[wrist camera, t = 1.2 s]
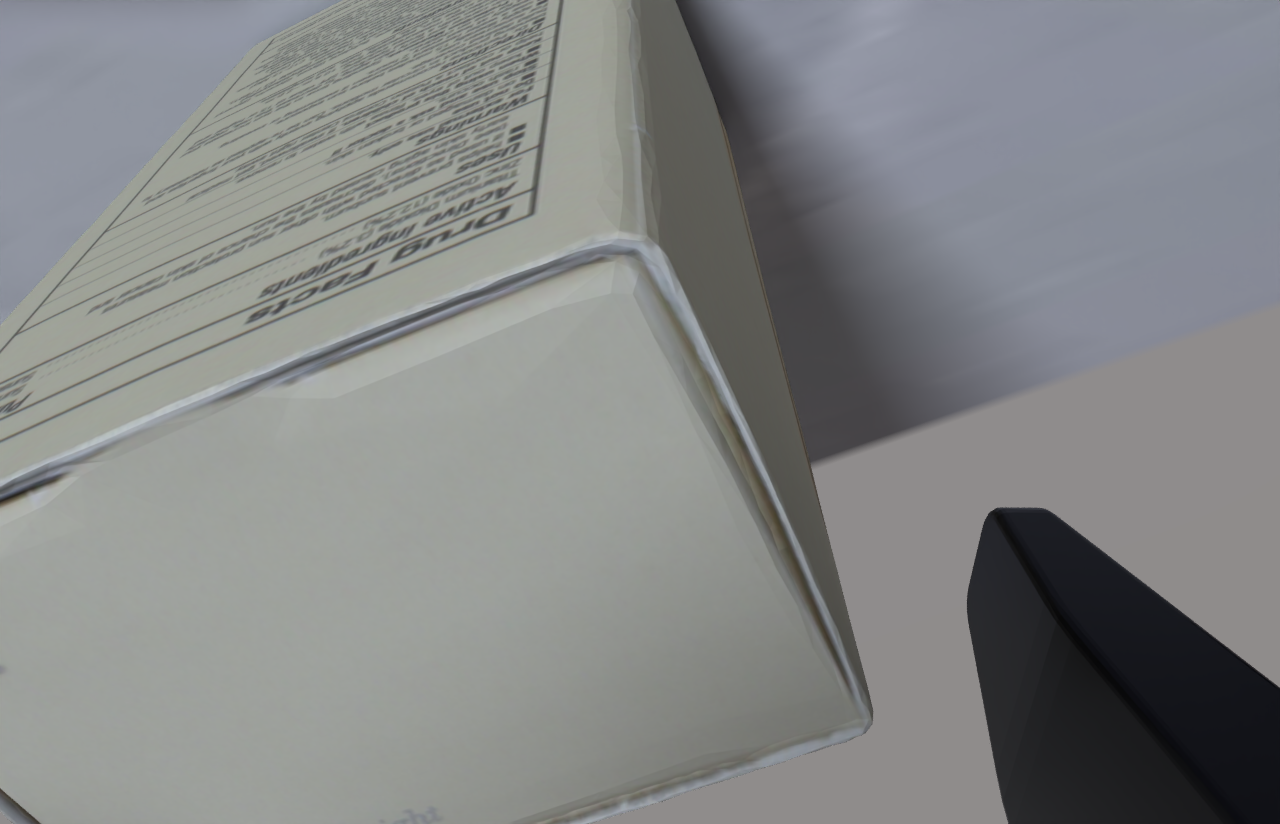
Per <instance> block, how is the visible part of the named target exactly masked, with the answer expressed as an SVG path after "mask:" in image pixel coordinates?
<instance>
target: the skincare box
mask: <svg viewBox="0 0 1280 824" xmlns="http://www.w3.org/2000/svg"><path fill="white" fill-rule="evenodd" d="M872 721H873V708H872V704H871V700H870V695H869V691H868V687H867V683H866V680H865V676H864V672H863V668H862V665H861V661H860V657H859V653H858V649H857V646H856V642H855V639H854V634H853V631H852V627H851V623H850V619H849V615H848V611H847V607H846V604H845V600H844V596H843V592H842V588H841V584H840V580H839V576H838V572H837V568H836V565H835V561H834V557H833V553H832V549H831V545H830V542H829V537H828V534H827V530H826V526H825V522H824V518H823V514H822V510H821V506H820V503H819V498H818V494H817V490H816V486H815V482H814V478H813V473H812V469H811V465H810V461H809V457H808V452H807V448H806V445H805V441H804V437H803V433H802V429H801V425H800V421H799V418H798V414H797V410H796V406H795V403H794V399H793V395H792V392H791V388H790V384H789V380H788V376H787V372H786V368H785V364H784V360H783V356H782V352H781V349H780V345H779V341H778V337H777V333H776V329H775V325H774V321H773V318H772V314H771V310H770V306H769V302H768V298H767V294H766V290H765V286H764V282H763V278H762V274H761V270H760V266H759V262H758V257H757V253H756V249H755V245H754V241H753V237H752V233H751V229H750V225H749V221H748V217H747V213H746V209H745V205H744V201H743V197H742V193H741V188H740V184H739V180H738V176H737V172H736V168H735V164H734V160H733V156H732V152H731V148H730V144H729V140H728V136H727V132H726V130H725V127H724V124H723V122H722V119H721V117H720V114H719V111H718V109H717V106H716V103H715V100H714V98H713V95H712V92H711V90H710V87H709V84H708V82H707V79H706V77H705V74H704V71H703V69H702V66H701V64H700V61H699V58H698V56H697V53H696V51H695V48H694V46H693V43H692V41H691V38H690V36H689V33H688V31H687V28H686V26H685V23H684V21H683V18H682V16H681V13H680V11H679V8H678V6H677V3H676V1H675V0H342V1H340V2H338V3H336V4H334V5H332V6H330V7H328V8H326V9H324V10H322V11H320V12H319V13H317V14H315V15H313V16H311V17H309V18H307V19H305V20H303V21H301V22H299V23H297V24H295V25H293V26H291V27H289V28H287V29H285V30H284V31H282V32H280V33H278V34H276V35H274V36H272V37H270V38H268V39H266V40H264V41H262V42H260V43H258V44H257V45H255V46H254V47H253V48H252V49H251V50H250V51H249V52H248V53H247V54H246V55H245V56H244V57H243V58H242V60H241V61H240V62H239V63H238V64H237V65H236V66H235V67H234V69H233V70H232V71H231V72H230V73H229V74H228V75H227V76H226V77H225V78H224V79H223V81H222V82H221V83H220V84H219V85H218V86H217V87H216V89H215V90H214V91H213V92H212V93H211V94H210V95H209V96H208V97H207V98H206V99H205V100H204V102H203V103H202V104H201V105H200V106H199V107H198V109H197V110H196V111H195V112H194V113H193V114H192V115H191V116H190V117H189V118H188V119H187V120H186V121H185V123H184V124H183V125H182V126H181V127H180V128H179V129H178V130H177V132H176V133H175V134H174V135H173V136H172V137H171V138H170V139H169V140H168V141H167V142H166V143H165V144H164V145H163V146H162V147H161V148H160V150H159V151H158V152H157V153H156V154H155V155H154V157H153V158H152V159H151V160H150V161H149V162H148V163H147V164H146V165H145V166H144V167H143V168H142V169H141V171H140V172H139V173H138V174H137V175H136V176H135V177H134V178H133V180H132V181H131V182H130V183H129V184H128V185H127V186H126V187H125V188H124V190H123V191H122V192H121V193H120V194H119V195H118V196H117V197H116V199H115V200H114V201H113V202H112V203H111V204H110V205H109V206H108V208H107V209H106V210H105V211H104V212H103V213H102V214H101V215H100V217H99V218H98V219H97V220H96V221H95V222H94V223H93V224H92V225H91V227H90V228H89V229H88V230H87V231H86V232H85V233H84V234H83V235H82V236H81V237H80V238H79V239H78V240H77V241H76V242H75V243H74V245H73V246H72V247H71V248H70V249H69V250H68V251H67V252H66V253H65V254H64V256H63V257H62V258H61V259H60V260H59V261H58V262H57V263H56V264H55V266H54V267H53V268H52V269H51V270H50V271H49V272H48V273H47V274H46V276H45V277H44V278H43V279H42V280H41V281H40V282H39V283H38V284H37V286H36V287H35V288H34V289H33V290H32V291H31V292H30V293H29V294H28V295H27V296H26V297H25V298H24V300H23V301H22V302H21V303H20V304H19V305H18V306H17V307H16V308H15V309H14V311H13V312H12V313H11V314H10V315H9V316H8V317H7V319H6V320H5V321H4V322H3V323H2V324H1V325H0V812H1V813H2V814H3V815H4V816H5V817H6V818H7V819H8V820H10V821H11V822H12V823H13V824H588V823H594V822H597V821H600V820H604V819H607V818H610V817H613V816H616V815H619V814H623V813H626V812H629V811H633V810H637V809H640V808H643V807H646V806H648V805H651V804H654V803H657V802H663V801H665V800H668V799H671V798H673V797H676V796H679V795H681V794H683V793H686V792H689V791H692V790H695V789H699V788H702V787H705V786H709V785H712V784H715V783H718V782H722V781H725V780H728V779H731V778H734V777H738V776H741V775H744V774H747V773H750V772H753V771H755V770H758V769H762V768H765V767H768V766H772V765H775V764H779V763H782V762H785V761H787V760H790V759H793V758H795V757H798V756H801V755H804V754H808V753H811V752H815V751H818V750H821V749H823V748H826V747H829V746H832V745H836V744H841V743H845V742H847V741H849V740H851V739H853V738H855V737H858V736H861V735H863V734H864V733H866V732H867V730H868V729H869V728H870V726H871V725H872Z"/></svg>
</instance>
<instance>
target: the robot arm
mask: <svg viewBox="0 0 1280 824" xmlns="http://www.w3.org/2000/svg"><path fill="white" fill-rule="evenodd" d="M967 614H968V623H969V628H970V634H971V639H972V644H973V650H974V655H975V661H976V666H977V672H978V677H979V682H980V688H981V693H982V698H983V704H984V709H985V714H986V720H987V725H988V731H989V736H990V741H991V747H992V752H993V758H994V763H995V768H996V774H997V778H998V783H999V788H1000V793H1001V798H1002V802H1003V806H1004V809H1005V813H1006V817H1007V820H1008V824H1280V687H1278V686H1277V685H1276V684H1274V683H1273V682H1272V681H1270V680H1269V679H1268V678H1267V677H1265V676H1264V675H1263V674H1261V673H1260V672H1259V671H1257V670H1256V669H1255V668H1254V667H1252V666H1251V665H1250V664H1248V663H1247V662H1246V661H1244V660H1243V659H1242V658H1240V657H1239V656H1238V655H1237V654H1235V653H1234V652H1233V651H1231V650H1230V649H1229V648H1228V647H1226V646H1225V645H1224V644H1222V643H1221V642H1220V641H1218V640H1217V639H1216V638H1214V637H1213V636H1212V635H1211V634H1209V633H1208V632H1207V631H1205V630H1204V629H1203V628H1202V627H1200V626H1199V625H1198V624H1196V623H1195V622H1194V621H1192V620H1191V619H1190V618H1189V617H1187V616H1186V615H1185V614H1183V613H1182V612H1181V611H1180V610H1178V609H1177V608H1175V607H1174V606H1173V605H1172V604H1170V603H1169V602H1168V601H1166V600H1165V599H1164V598H1163V597H1161V596H1160V595H1159V594H1157V593H1156V592H1155V591H1154V590H1152V589H1151V588H1150V587H1148V586H1147V585H1146V584H1144V583H1143V582H1142V581H1141V580H1139V579H1138V578H1137V577H1135V576H1134V575H1132V574H1131V573H1130V572H1129V571H1128V570H1126V569H1125V568H1124V567H1122V566H1121V565H1120V564H1118V563H1117V562H1116V561H1114V560H1113V559H1112V558H1111V557H1109V556H1108V555H1107V554H1106V553H1104V552H1103V551H1102V550H1100V549H1099V548H1098V547H1096V546H1095V545H1094V544H1093V543H1091V542H1090V541H1089V540H1087V539H1086V538H1085V537H1083V536H1082V535H1081V534H1079V533H1078V532H1077V531H1075V530H1074V529H1073V528H1072V527H1070V526H1069V525H1068V524H1067V523H1065V522H1064V521H1063V520H1061V519H1060V518H1058V517H1057V516H1056V515H1055V514H1053V513H1052V512H1050V511H1048V510H1046V509H1043V508H996V509H994V510H993V511H991V512H990V513H989V514H988V516H987V518H986V519H985V522H984V525H983V528H982V532H981V537H980V541H979V545H978V549H977V554H976V558H975V562H974V566H973V571H972V575H971V579H970V584H969V588H968V595H967Z"/></svg>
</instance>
